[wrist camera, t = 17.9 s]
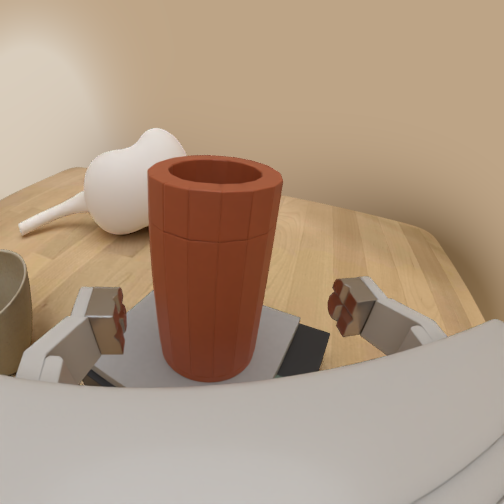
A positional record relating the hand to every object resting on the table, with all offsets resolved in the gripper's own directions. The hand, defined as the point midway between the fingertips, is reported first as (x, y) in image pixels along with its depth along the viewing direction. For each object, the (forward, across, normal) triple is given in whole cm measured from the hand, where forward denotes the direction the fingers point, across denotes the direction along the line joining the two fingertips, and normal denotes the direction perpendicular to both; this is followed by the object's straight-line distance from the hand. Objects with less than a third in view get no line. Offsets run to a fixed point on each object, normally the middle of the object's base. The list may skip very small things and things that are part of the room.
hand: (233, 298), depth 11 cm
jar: (+4, 0, +7) cm, 9 cm away
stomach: (+30, +11, +11) cm, 34 cm away
